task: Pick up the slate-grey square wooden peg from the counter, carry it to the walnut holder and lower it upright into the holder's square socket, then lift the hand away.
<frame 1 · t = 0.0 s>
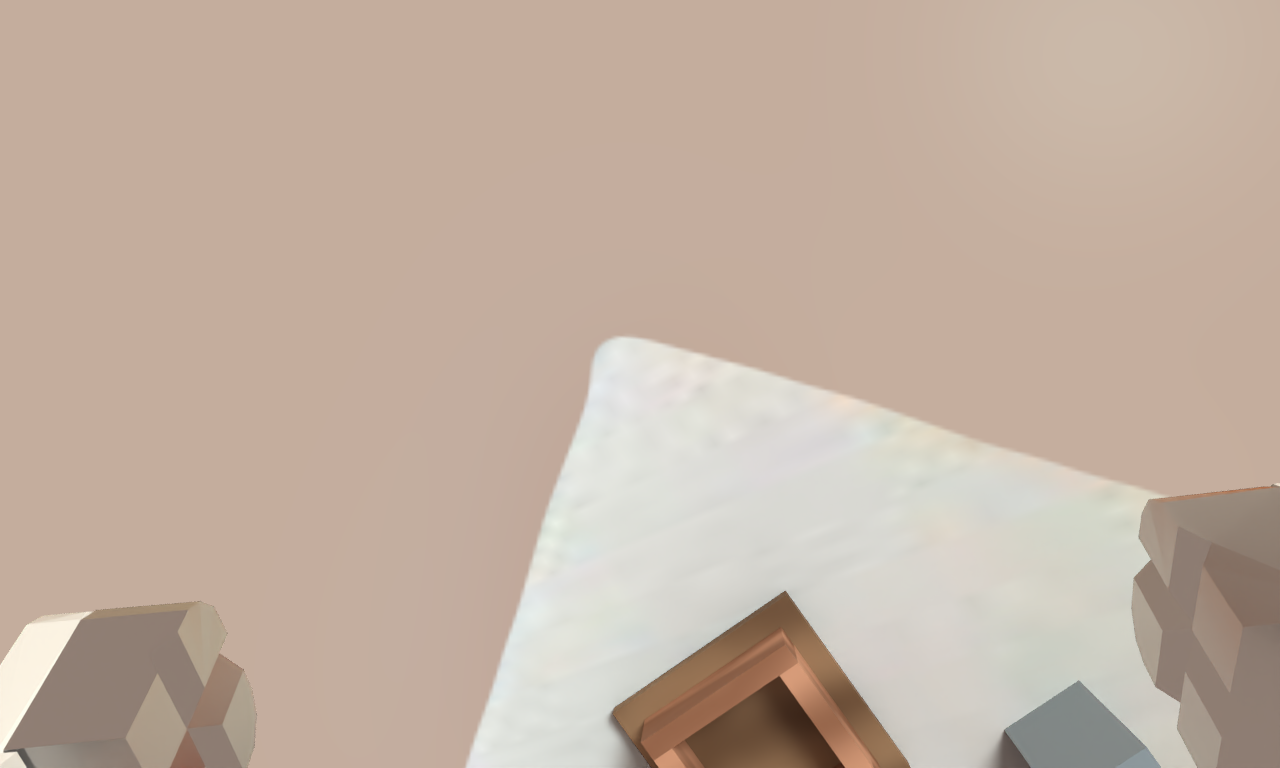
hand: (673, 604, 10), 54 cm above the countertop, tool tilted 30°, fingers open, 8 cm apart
square peg: (1067, 741, 64), on the countertop
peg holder: (760, 734, 65), on the countertop
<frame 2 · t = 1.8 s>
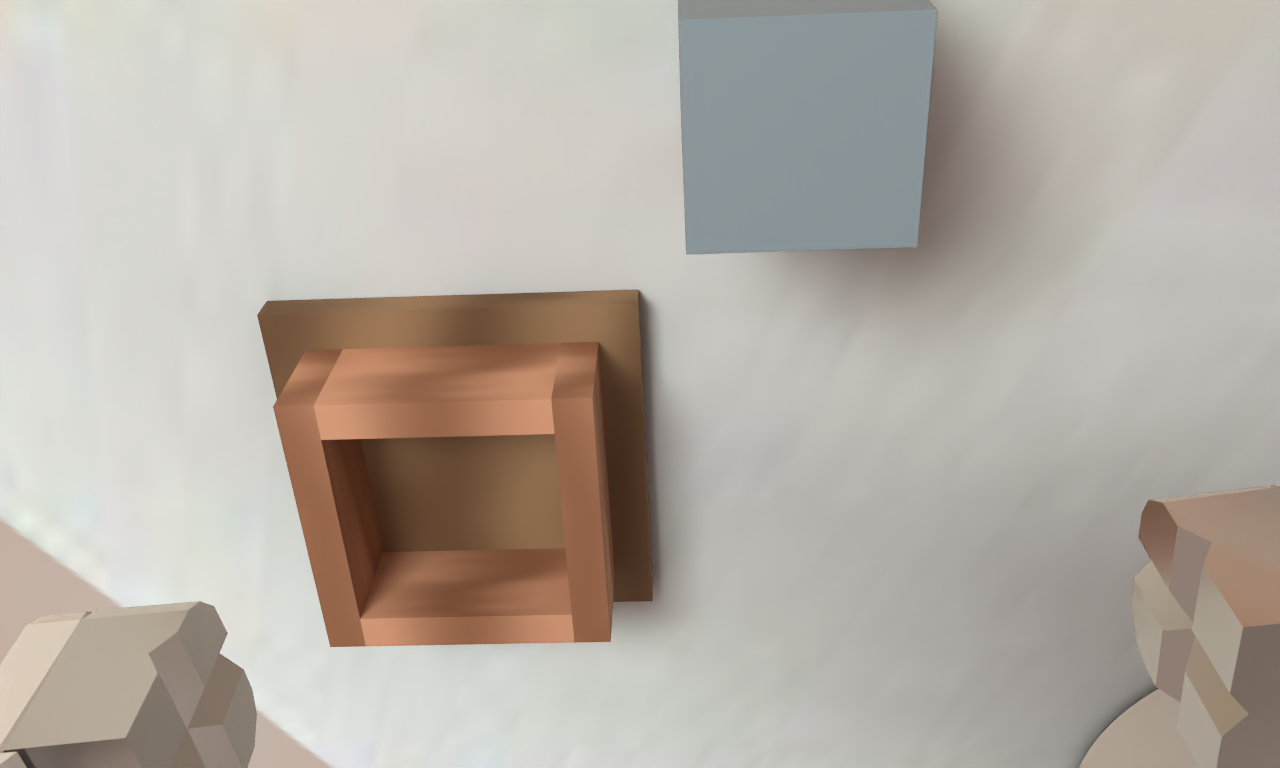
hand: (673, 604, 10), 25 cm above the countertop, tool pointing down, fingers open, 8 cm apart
square peg: (767, 27, 32), on the countertop
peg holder: (473, 451, 40), on the countertop
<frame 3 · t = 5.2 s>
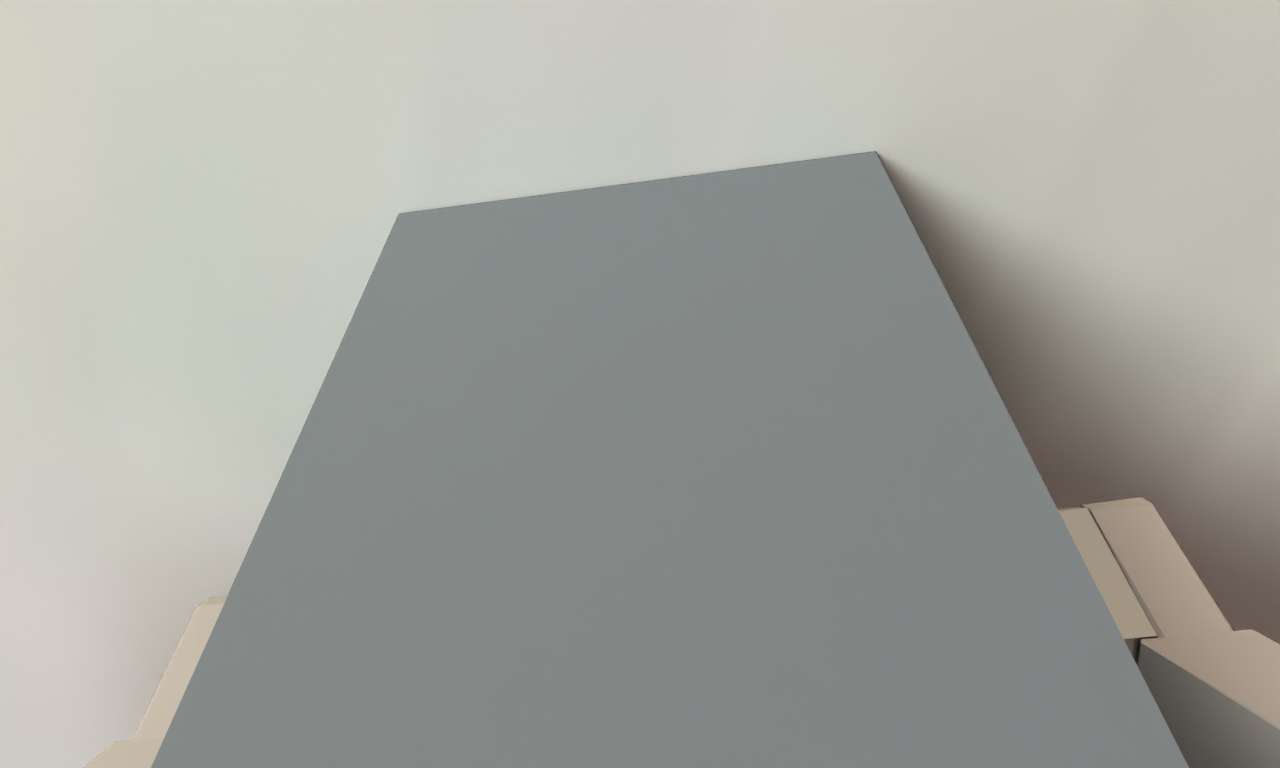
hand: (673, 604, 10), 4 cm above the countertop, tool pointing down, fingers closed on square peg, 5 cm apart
square peg: (663, 385, 13), on the countertop, touching gripper
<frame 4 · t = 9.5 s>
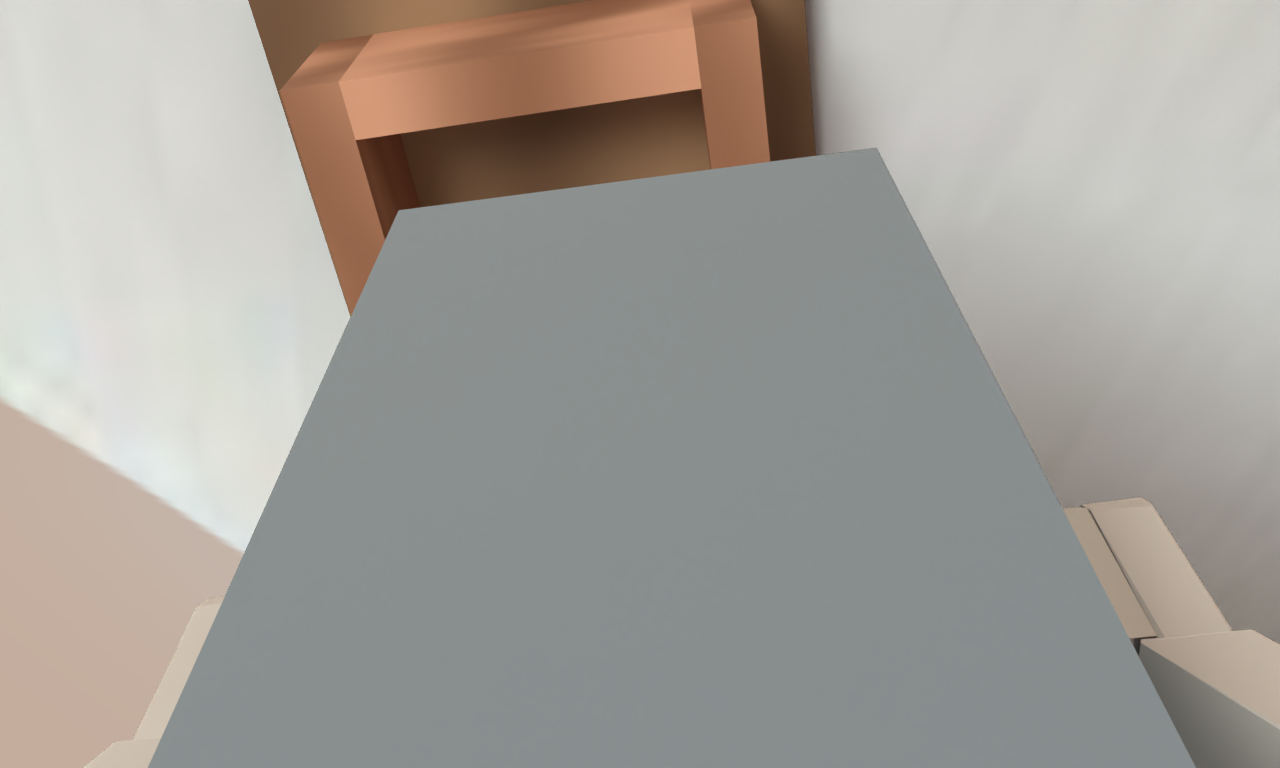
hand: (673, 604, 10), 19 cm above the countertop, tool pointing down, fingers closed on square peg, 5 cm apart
square peg: (664, 383, 13), point 15 cm above the countertop, touching gripper
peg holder: (569, 191, 28), on the countertop
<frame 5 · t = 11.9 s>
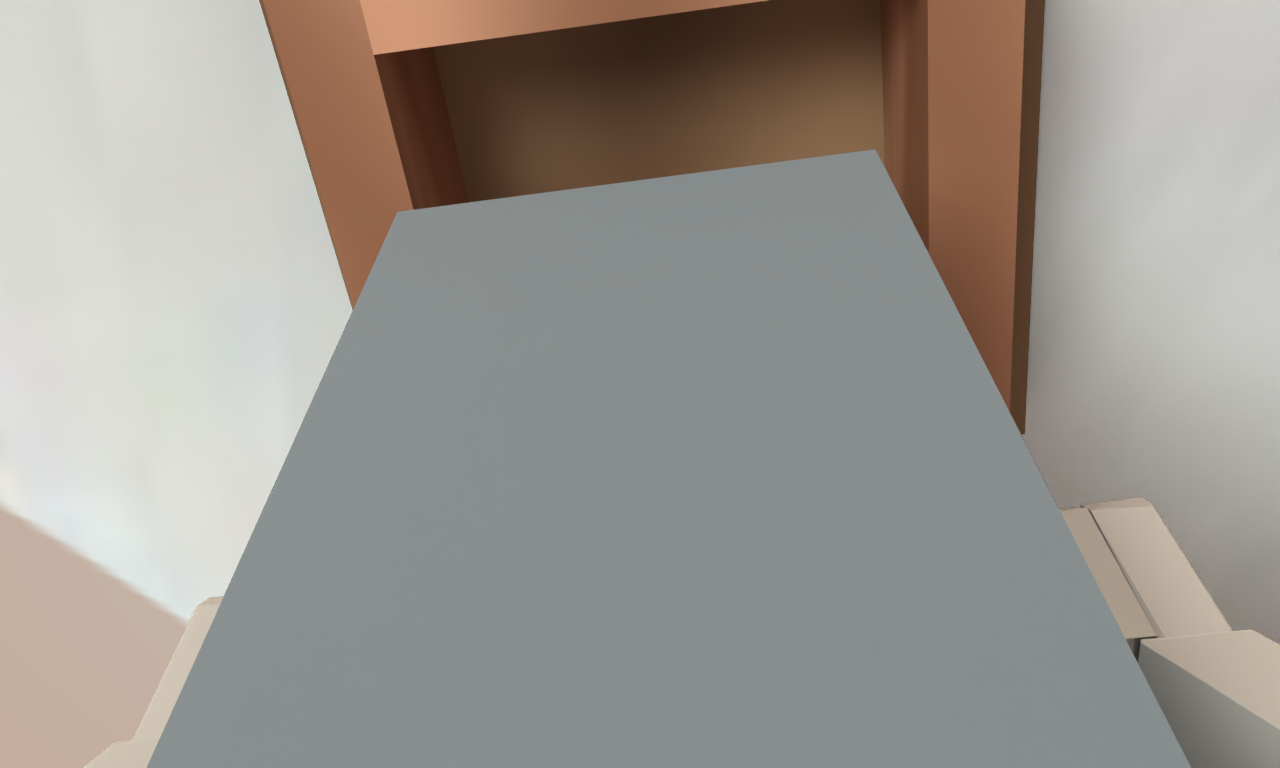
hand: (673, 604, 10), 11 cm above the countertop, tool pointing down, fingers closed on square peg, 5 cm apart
square peg: (663, 384, 13), point 8 cm above the countertop, touching gripper
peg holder: (672, 156, 20), on the countertop
when the fingers open (6 cm above the countertop, at t = 14.0 s): square peg drops 1 cm, resting on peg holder.
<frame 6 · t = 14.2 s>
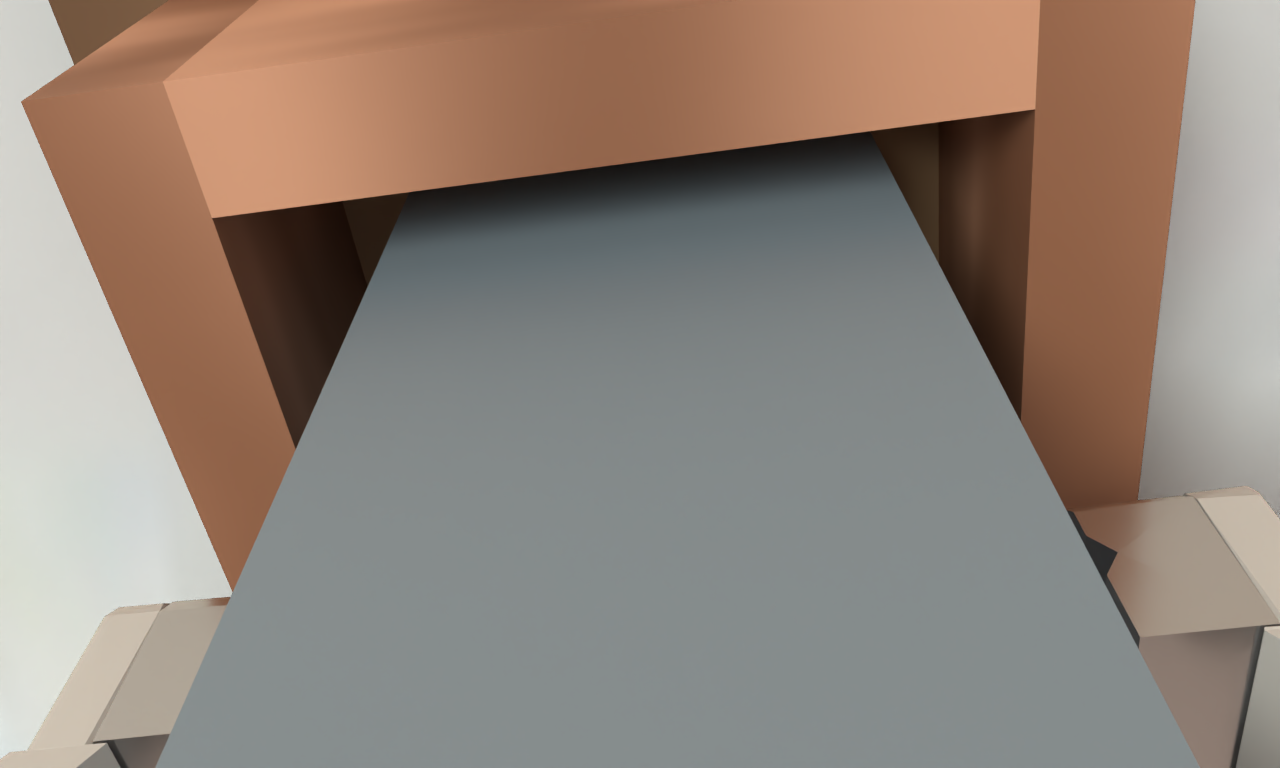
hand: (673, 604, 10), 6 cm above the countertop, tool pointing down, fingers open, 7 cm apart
square peg: (663, 322, 14), point 1 cm above the countertop, touching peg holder
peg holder: (657, 289, 15), on the countertop
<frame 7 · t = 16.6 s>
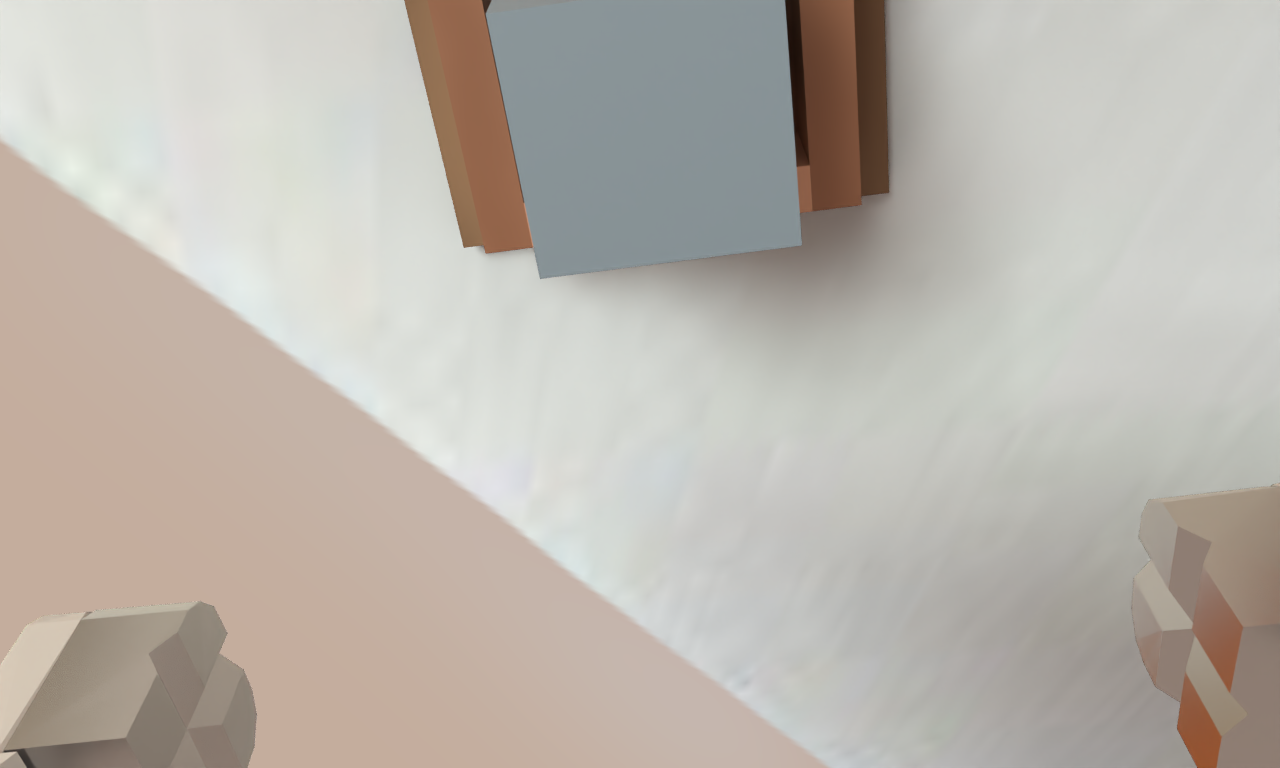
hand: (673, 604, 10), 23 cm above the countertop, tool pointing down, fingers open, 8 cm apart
square peg: (647, 0, 29), point 1 cm above the countertop, touching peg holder
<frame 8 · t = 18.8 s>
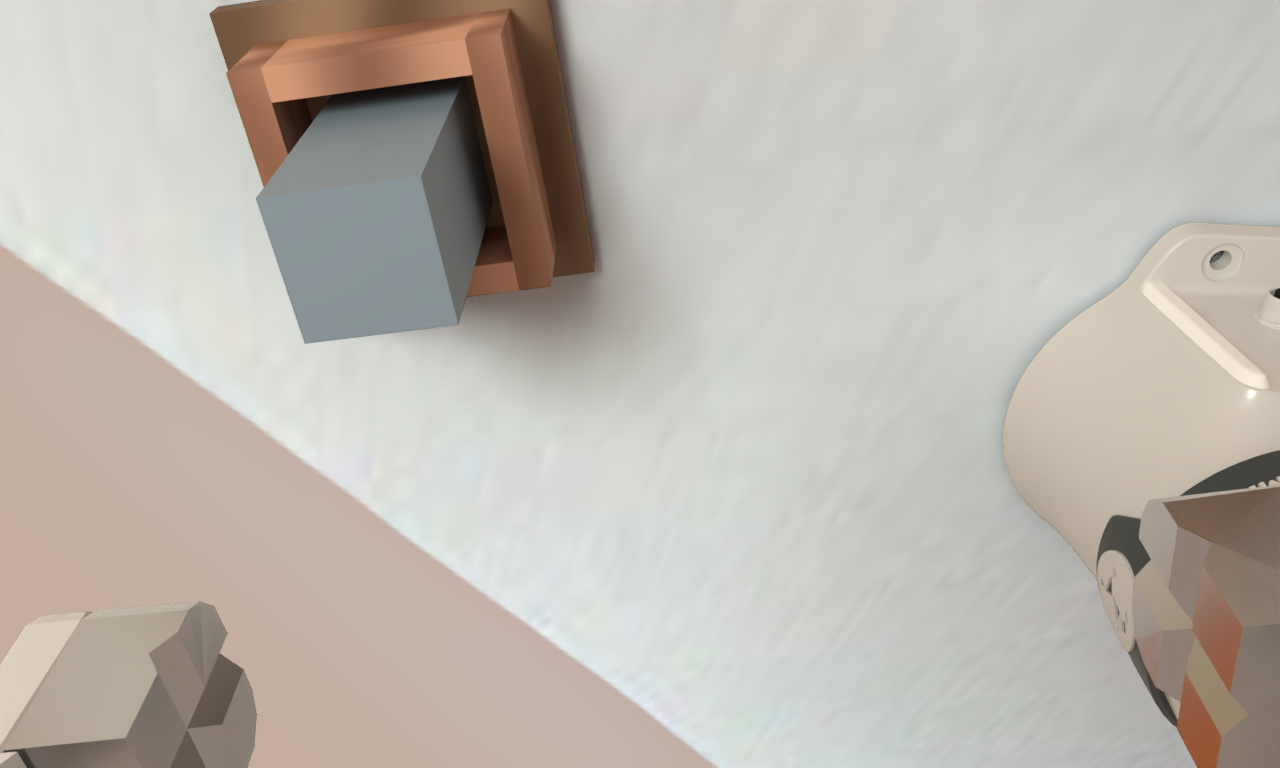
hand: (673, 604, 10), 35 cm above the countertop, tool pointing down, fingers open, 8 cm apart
square peg: (415, 149, 43), point 1 cm above the countertop, touching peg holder
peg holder: (417, 141, 44), on the countertop
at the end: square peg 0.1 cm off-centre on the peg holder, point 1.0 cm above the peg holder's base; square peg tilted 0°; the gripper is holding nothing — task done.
